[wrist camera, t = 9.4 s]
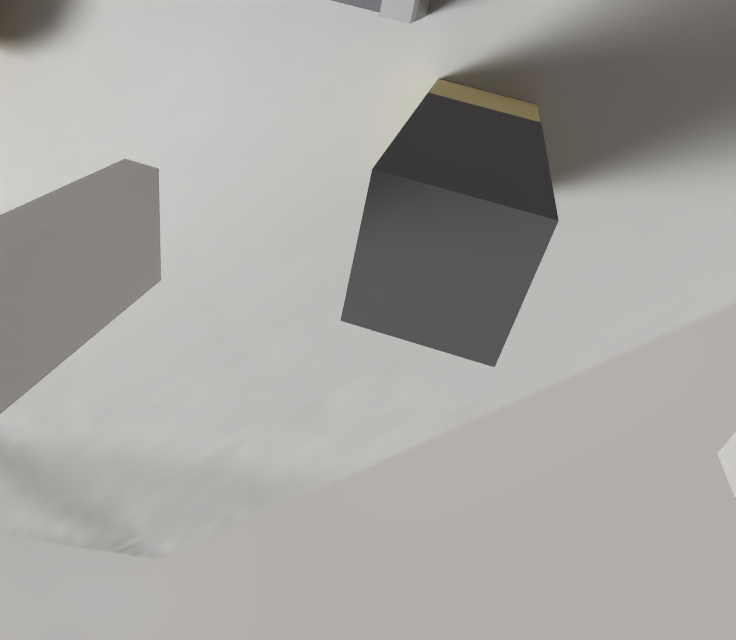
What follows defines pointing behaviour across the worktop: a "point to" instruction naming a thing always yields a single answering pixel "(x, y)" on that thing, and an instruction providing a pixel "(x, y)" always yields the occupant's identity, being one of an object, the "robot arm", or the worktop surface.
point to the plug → (454, 224)
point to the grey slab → (394, 8)
